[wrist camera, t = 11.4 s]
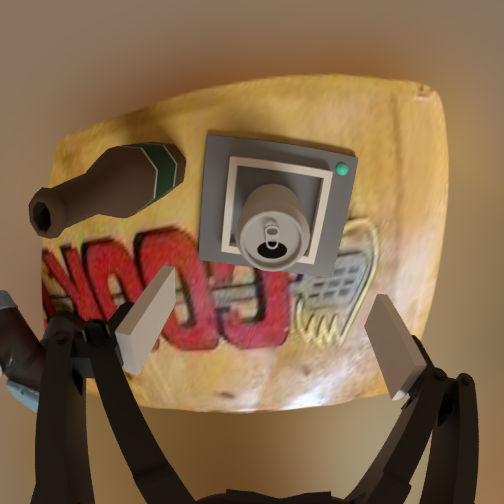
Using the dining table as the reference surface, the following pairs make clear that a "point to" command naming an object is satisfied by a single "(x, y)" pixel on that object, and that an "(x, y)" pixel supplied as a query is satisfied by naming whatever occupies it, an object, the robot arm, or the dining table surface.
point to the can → (272, 228)
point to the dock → (283, 173)
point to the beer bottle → (109, 187)
